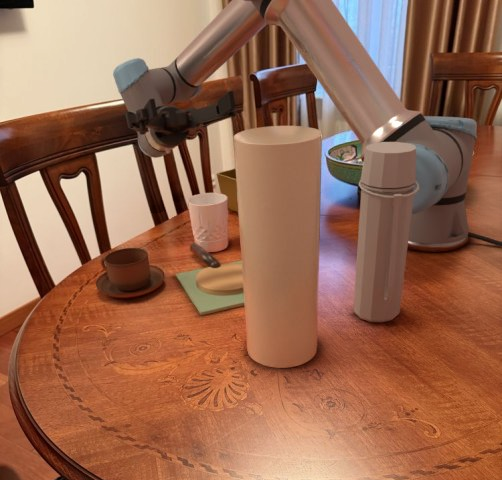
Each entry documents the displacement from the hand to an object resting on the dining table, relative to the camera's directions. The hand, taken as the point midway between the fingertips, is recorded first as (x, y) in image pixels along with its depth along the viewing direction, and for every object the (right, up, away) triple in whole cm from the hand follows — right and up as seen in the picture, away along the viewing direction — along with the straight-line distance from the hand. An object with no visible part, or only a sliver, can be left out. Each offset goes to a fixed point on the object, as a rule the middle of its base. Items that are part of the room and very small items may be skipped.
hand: (194, 103), depth 86 cm
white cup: (+1, -20, +22) cm, 30 cm away
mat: (+6, -29, +6) cm, 31 cm away
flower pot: (+8, -8, +40) cm, 42 cm away
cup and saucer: (-12, -30, +7) cm, 33 cm away
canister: (+14, -40, -12) cm, 44 cm away
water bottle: (+29, -36, -5) cm, 46 cm away
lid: (+3, -26, +10) cm, 28 cm away
